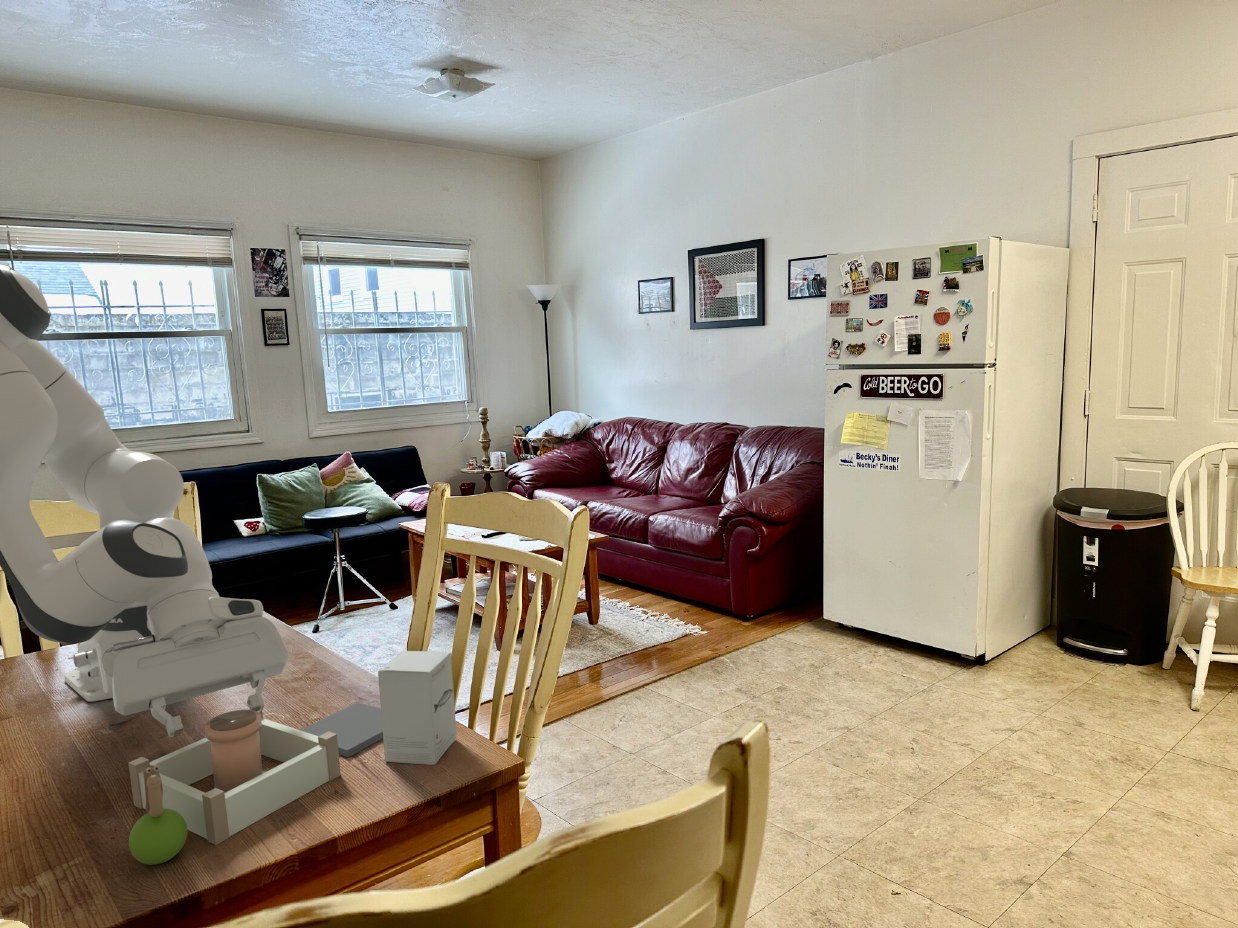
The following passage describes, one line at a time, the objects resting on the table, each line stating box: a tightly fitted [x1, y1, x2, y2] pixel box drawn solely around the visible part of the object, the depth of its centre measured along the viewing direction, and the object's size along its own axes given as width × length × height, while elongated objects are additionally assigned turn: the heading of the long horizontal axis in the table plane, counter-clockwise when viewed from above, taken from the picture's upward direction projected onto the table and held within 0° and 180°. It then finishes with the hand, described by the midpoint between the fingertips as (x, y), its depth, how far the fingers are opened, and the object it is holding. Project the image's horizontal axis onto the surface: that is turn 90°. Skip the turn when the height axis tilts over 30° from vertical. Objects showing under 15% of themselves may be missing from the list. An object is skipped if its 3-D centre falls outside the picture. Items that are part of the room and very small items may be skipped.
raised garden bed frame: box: [128, 710, 342, 846], centre depth 101 cm, size 17×17×6 cm
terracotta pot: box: [204, 709, 264, 793], centre depth 101 cm, size 6×6×9 cm
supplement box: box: [377, 650, 458, 766], centre depth 109 cm, size 7×7×13 cm
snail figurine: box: [128, 765, 188, 865], centre depth 87 cm, size 5×6×12 cm
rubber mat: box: [299, 702, 383, 758], centre depth 116 cm, size 11×11×1 cm
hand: (218, 721), depth 102 cm, fingers open, 8 cm apart
